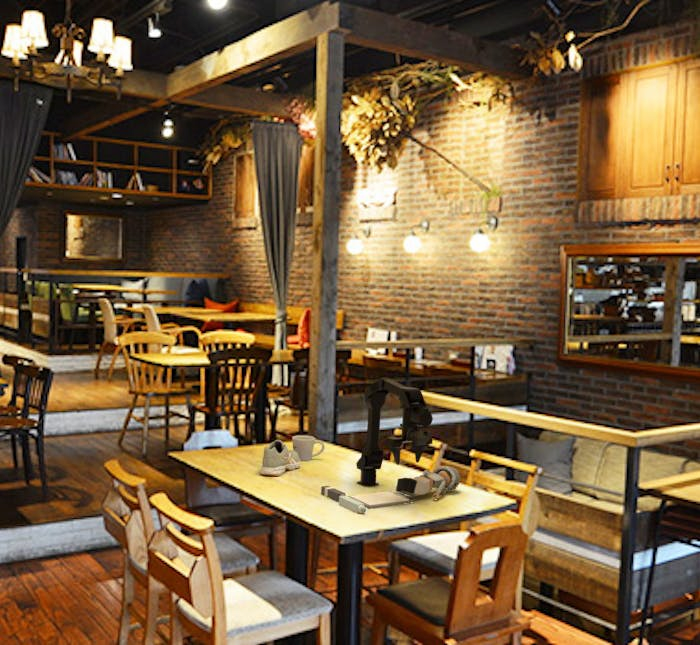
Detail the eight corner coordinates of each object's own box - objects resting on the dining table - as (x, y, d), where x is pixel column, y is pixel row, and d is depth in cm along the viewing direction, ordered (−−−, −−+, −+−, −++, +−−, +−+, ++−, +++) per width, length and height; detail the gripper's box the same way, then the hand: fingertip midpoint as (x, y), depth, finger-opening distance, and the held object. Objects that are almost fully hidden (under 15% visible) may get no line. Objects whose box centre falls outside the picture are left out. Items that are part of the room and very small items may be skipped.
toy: (419, 507, 298) (467, 498, 320) (424, 477, 297) (471, 470, 319) (390, 494, 307) (438, 486, 329) (395, 466, 306) (442, 460, 328)
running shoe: (305, 464, 357) (307, 433, 356) (282, 479, 328) (283, 446, 328) (281, 461, 360) (283, 431, 359) (256, 476, 331) (257, 443, 331)
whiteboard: (369, 508, 290) (369, 503, 290) (346, 498, 303) (346, 493, 302) (413, 502, 301) (414, 498, 301) (389, 493, 314) (390, 488, 313)
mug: (292, 456, 372) (293, 434, 371) (324, 458, 371) (325, 436, 371) (289, 461, 361) (290, 439, 361) (323, 463, 361) (324, 440, 360)
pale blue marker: (338, 504, 294) (339, 496, 294) (345, 503, 296) (346, 495, 296) (360, 515, 282) (360, 506, 282) (367, 514, 284) (368, 505, 284)
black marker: (320, 494, 307) (321, 486, 307) (327, 493, 309) (328, 485, 309) (341, 503, 295) (342, 495, 295) (348, 502, 297) (349, 494, 297)
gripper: (403, 427, 289) (400, 470, 290) (443, 424, 300) (440, 466, 301) (384, 422, 298) (382, 463, 299) (424, 419, 309) (421, 459, 310)
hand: (407, 463), depth 302 cm, fingers open, 9 cm apart
